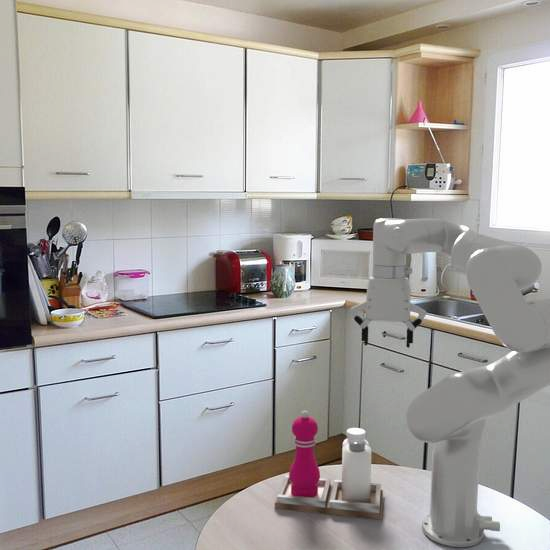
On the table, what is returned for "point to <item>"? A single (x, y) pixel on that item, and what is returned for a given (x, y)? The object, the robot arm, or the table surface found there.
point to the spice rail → (330, 500)
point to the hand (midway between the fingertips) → (386, 345)
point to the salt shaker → (356, 472)
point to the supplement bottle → (355, 435)
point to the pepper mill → (304, 458)
